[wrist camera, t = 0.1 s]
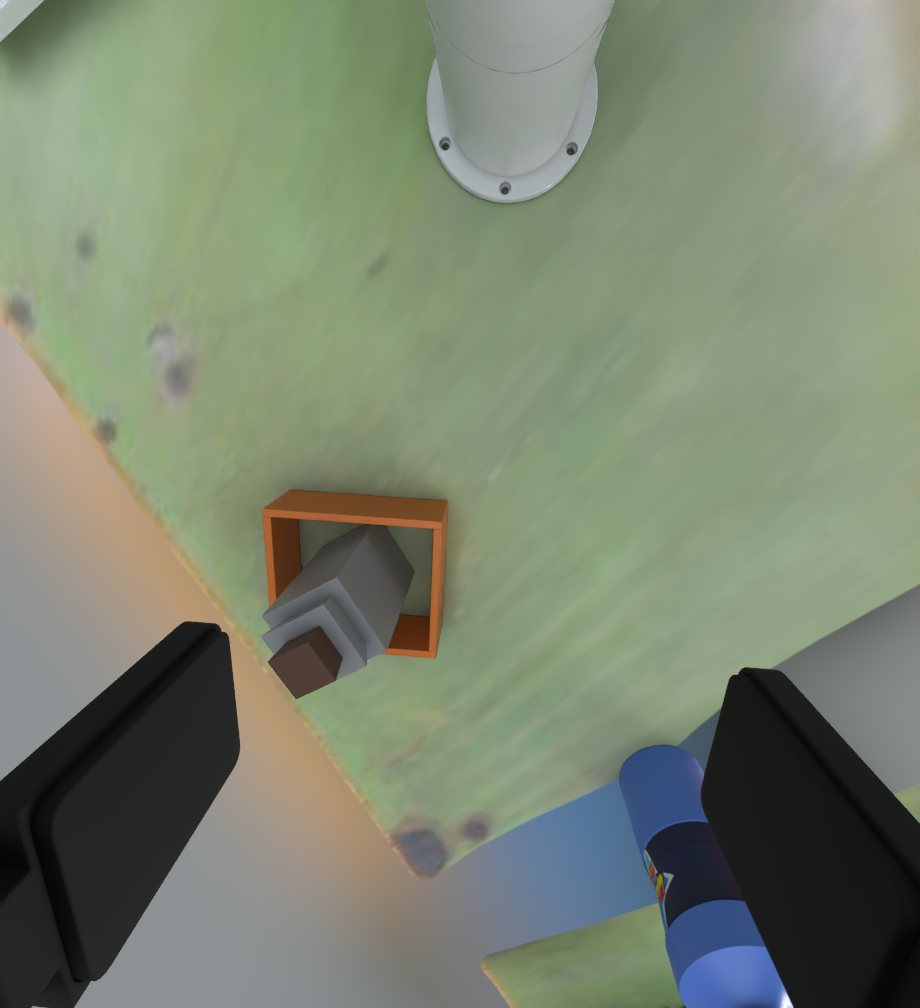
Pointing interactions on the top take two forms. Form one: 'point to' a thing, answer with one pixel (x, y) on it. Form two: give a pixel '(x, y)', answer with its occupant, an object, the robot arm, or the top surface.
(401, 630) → the box
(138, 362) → the top surface
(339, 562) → the perfume bottle
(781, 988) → the water bottle
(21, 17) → the shelf
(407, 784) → the top surface
